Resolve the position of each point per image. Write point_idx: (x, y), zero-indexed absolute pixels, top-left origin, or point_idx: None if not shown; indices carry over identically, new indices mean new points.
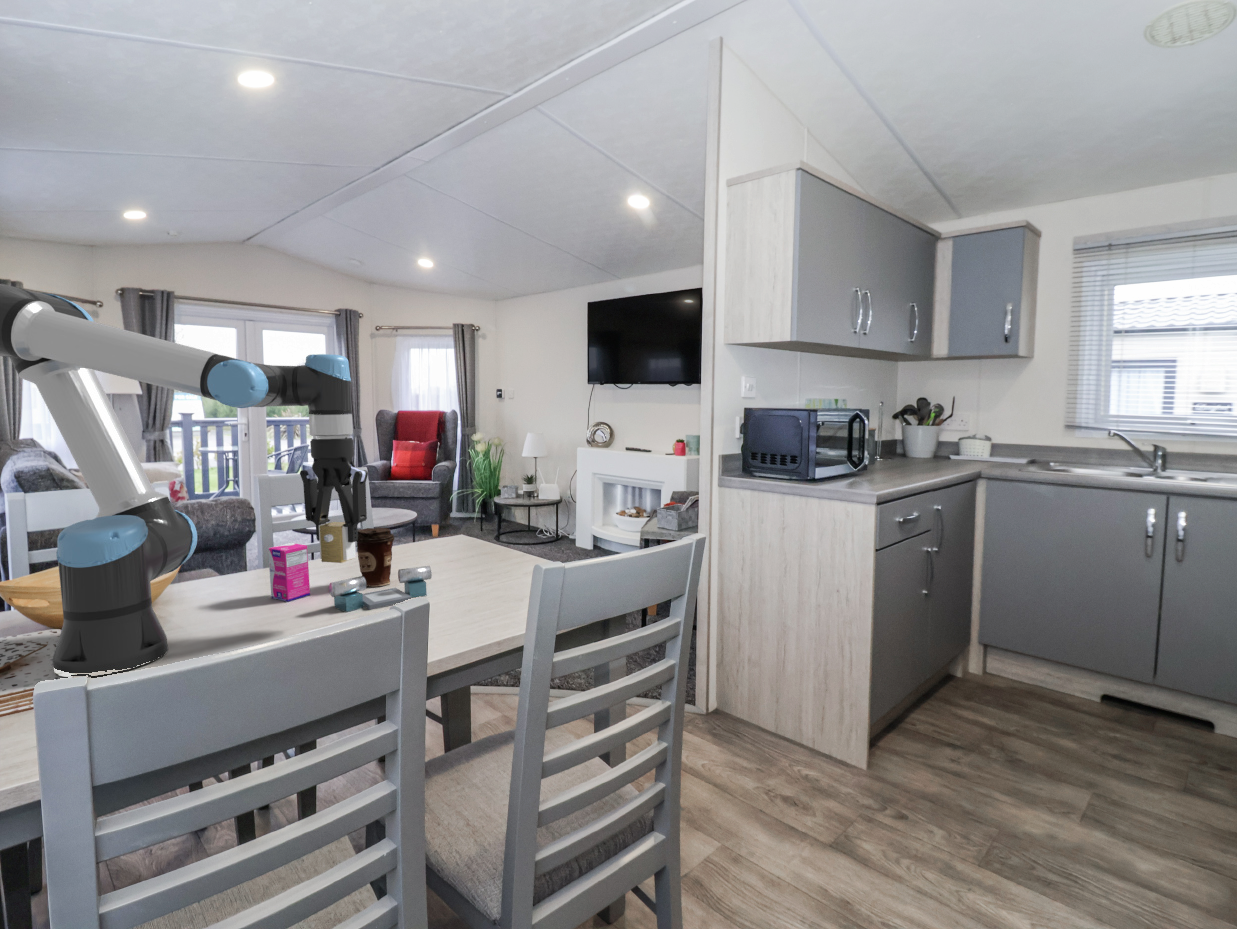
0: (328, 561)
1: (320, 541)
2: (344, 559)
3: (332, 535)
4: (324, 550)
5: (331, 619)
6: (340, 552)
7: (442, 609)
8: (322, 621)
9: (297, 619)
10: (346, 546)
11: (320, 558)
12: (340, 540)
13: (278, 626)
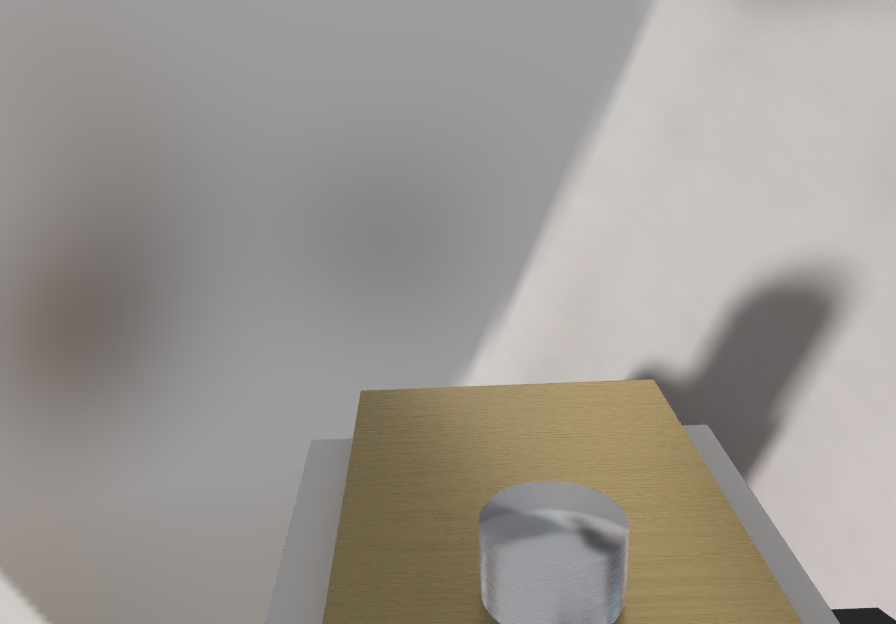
0: (554, 388)
1: (781, 567)
2: (343, 443)
3: (497, 620)
4: (634, 452)
5: (573, 296)
6: (358, 458)
7: (33, 619)
8: (606, 248)
9: (799, 235)
10: (287, 559)
11: (708, 427)
12: (333, 576)
13: (838, 82)
